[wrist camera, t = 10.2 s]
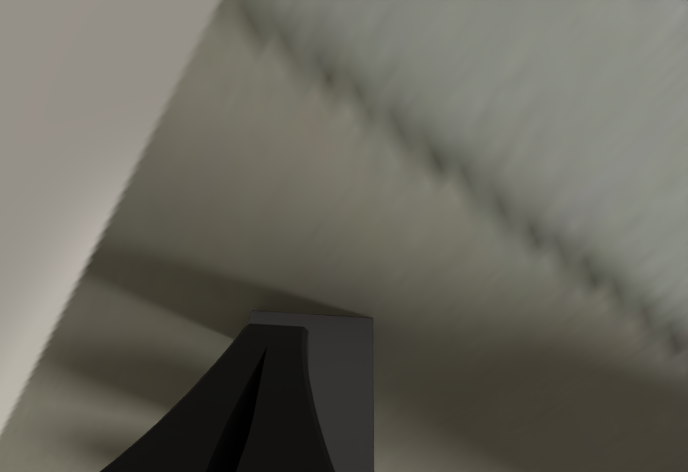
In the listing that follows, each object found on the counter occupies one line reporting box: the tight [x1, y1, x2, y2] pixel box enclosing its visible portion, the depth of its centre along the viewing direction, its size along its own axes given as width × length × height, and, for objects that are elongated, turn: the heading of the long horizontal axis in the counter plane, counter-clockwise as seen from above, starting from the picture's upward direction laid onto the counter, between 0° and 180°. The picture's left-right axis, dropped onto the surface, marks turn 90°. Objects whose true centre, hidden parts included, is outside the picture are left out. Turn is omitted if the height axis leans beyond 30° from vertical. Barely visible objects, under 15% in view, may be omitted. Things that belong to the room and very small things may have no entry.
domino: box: [247, 311, 374, 472], centre depth 16 cm, size 2×5×9 cm, turn 87°
